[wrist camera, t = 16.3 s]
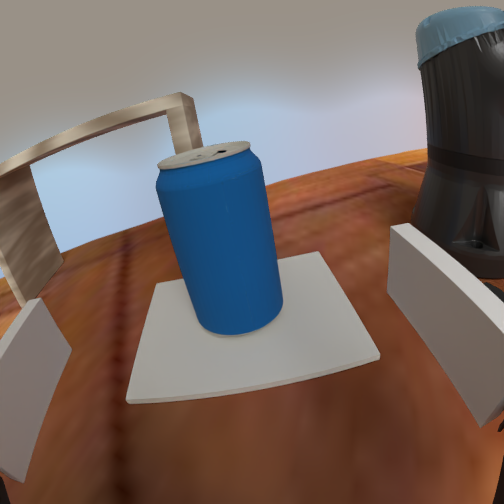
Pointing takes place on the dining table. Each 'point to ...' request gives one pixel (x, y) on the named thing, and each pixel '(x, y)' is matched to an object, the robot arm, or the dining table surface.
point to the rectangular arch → (28, 202)
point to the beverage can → (222, 236)
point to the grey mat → (249, 340)
